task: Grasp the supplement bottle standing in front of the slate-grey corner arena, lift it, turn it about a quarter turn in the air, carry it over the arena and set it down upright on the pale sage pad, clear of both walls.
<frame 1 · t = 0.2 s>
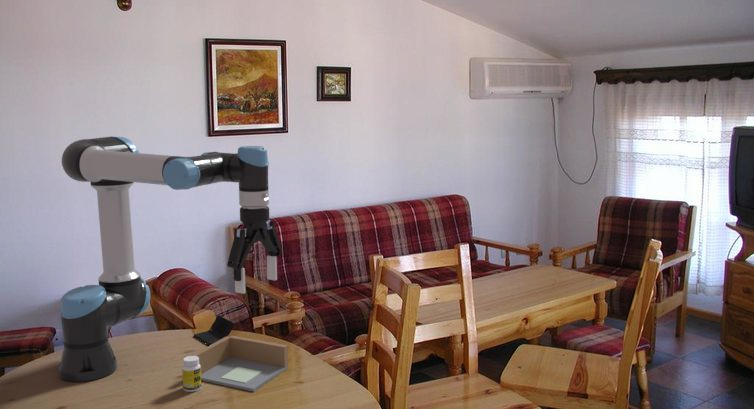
hand: (256, 285, 184), 27 cm above the table, fingers open, 13 cm apart
supplement bottle: (192, 389, 185), on the table
arena: (241, 373, 195), on the table
handheld gaming console: (214, 339, 222), on the table
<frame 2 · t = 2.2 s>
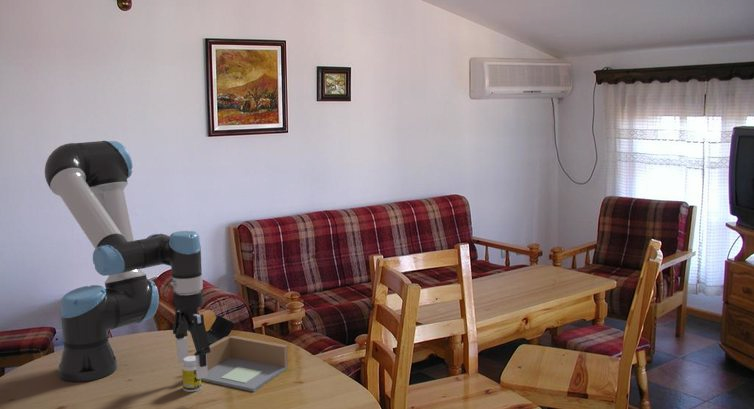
hand: (192, 369, 184), 5 cm above the table, fingers open, 13 cm apart
nothing on the table moved.
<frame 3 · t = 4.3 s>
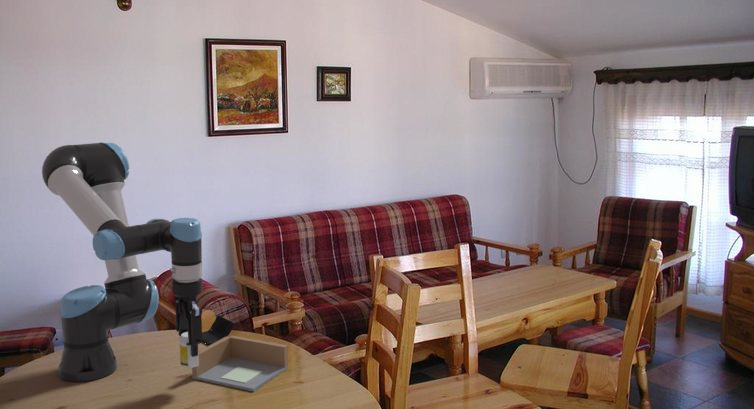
hand: (189, 362, 185), 7 cm above the table, fingers closed on supplement bottle, 5 cm apart
supplement bottle: (189, 364, 185), point 6 cm above the table, touching gripper
everything else where it was.
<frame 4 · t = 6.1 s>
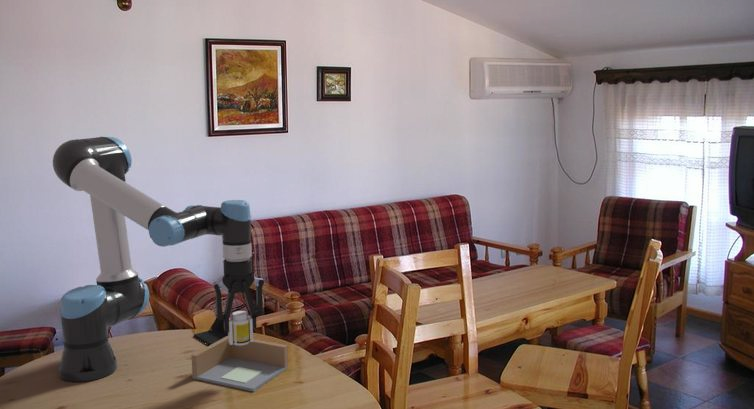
hand: (240, 341, 190), 11 cm above the table, fingers closed on supplement bottle, 5 cm apart
supplement bottle: (240, 343, 190), point 10 cm above the table, touching gripper
everything else where it was.
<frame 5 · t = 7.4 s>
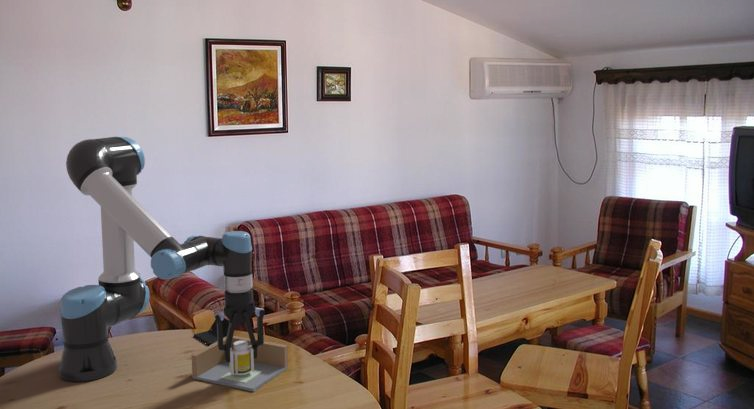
hand: (241, 370, 192), 2 cm above the table, fingers closed on supplement bottle, 5 cm apart
supplement bottle: (241, 372, 192), point 1 cm above the table, touching gripper
everything else where it was.
when the fingers open (1 cm above the table, at t = 7.9 s): supplement bottle stays where it is, resting on arena.
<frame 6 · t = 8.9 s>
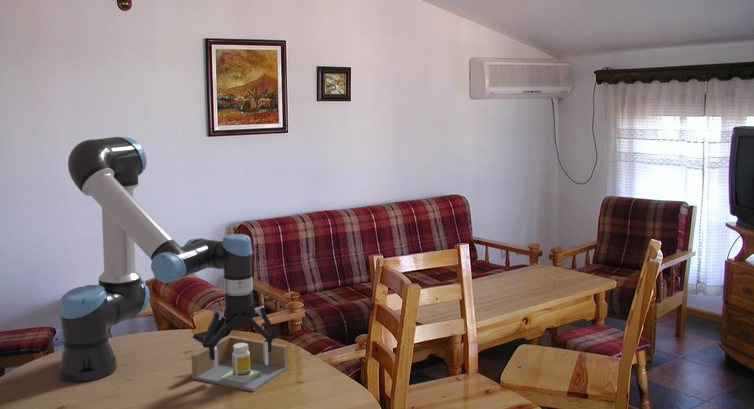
hand: (241, 366, 191), 3 cm above the table, fingers open, 13 cm apart
supplement bottle: (241, 375, 192), point 1 cm above the table, touching arena
everything else where it was.
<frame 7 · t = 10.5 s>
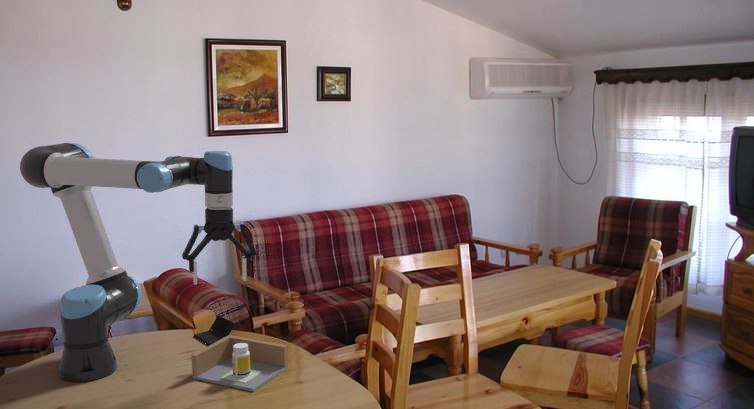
hand: (220, 281, 196), 25 cm above the table, fingers open, 13 cm apart
nothing on the table moved.
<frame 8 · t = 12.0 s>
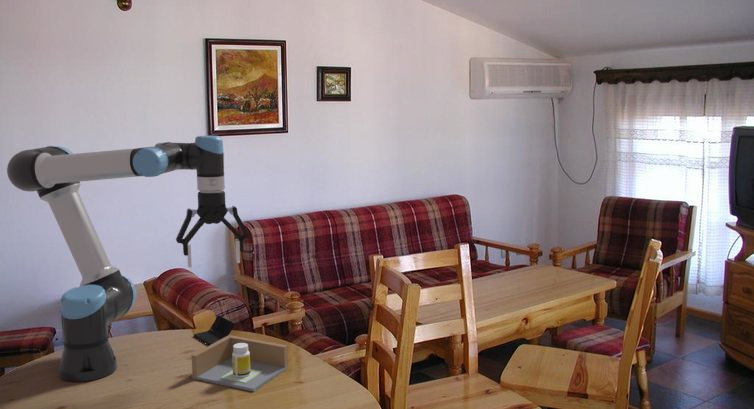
hand: (214, 264, 200), 29 cm above the table, fingers open, 13 cm apart
nothing on the table moved.
at the end: supplement bottle inside the target area on the arena (0.0 cm from its centre), point 0.8 cm above the arena's base; supplement bottle tilted 0°; the gripper is holding nothing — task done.
